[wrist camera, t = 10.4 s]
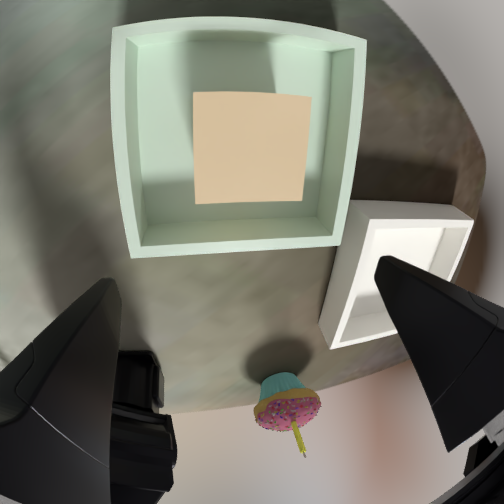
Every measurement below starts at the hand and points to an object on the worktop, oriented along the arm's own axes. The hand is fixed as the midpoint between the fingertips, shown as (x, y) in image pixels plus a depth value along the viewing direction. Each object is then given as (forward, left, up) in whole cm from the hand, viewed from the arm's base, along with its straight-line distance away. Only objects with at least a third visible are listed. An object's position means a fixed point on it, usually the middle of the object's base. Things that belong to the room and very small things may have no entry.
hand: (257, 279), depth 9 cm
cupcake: (+7, -27, -12) cm, 30 cm away
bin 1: (+1, +3, -12) cm, 12 cm away
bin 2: (+17, -9, -12) cm, 22 cm away
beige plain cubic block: (+1, +3, -11) cm, 11 cm away
